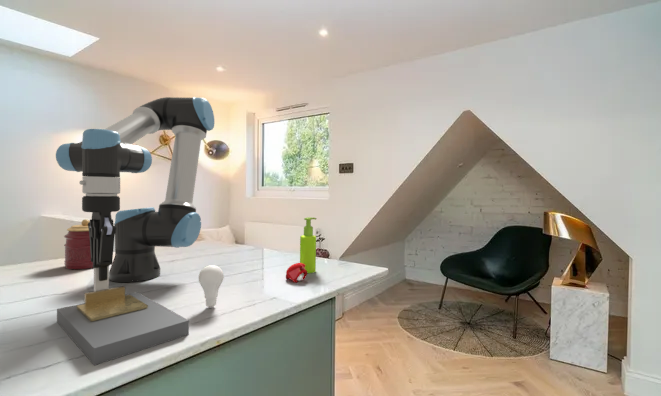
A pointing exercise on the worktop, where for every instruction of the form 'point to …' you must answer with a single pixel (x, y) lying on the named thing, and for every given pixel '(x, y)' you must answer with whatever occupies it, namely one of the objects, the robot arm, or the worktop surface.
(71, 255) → the canister
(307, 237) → the soap dispenser
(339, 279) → the worktop surface
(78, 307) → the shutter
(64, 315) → the socket block
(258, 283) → the worktop surface
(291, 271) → the cap
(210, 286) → the lightbulb
